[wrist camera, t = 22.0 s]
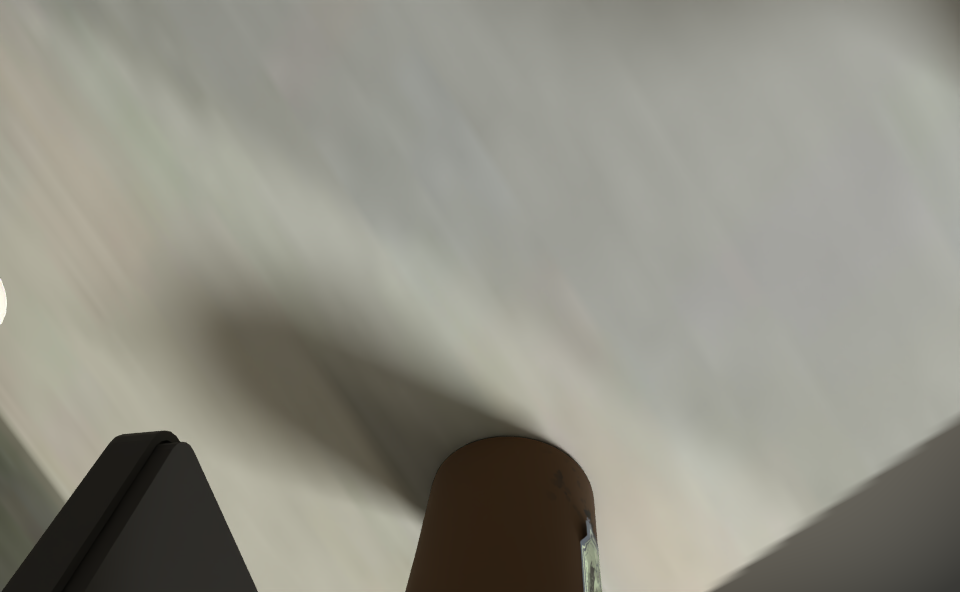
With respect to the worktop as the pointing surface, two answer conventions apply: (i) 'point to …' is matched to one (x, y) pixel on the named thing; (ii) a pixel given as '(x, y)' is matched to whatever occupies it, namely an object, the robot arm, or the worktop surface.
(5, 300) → the cylindrical container
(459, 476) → the olive oil
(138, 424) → the worktop surface
